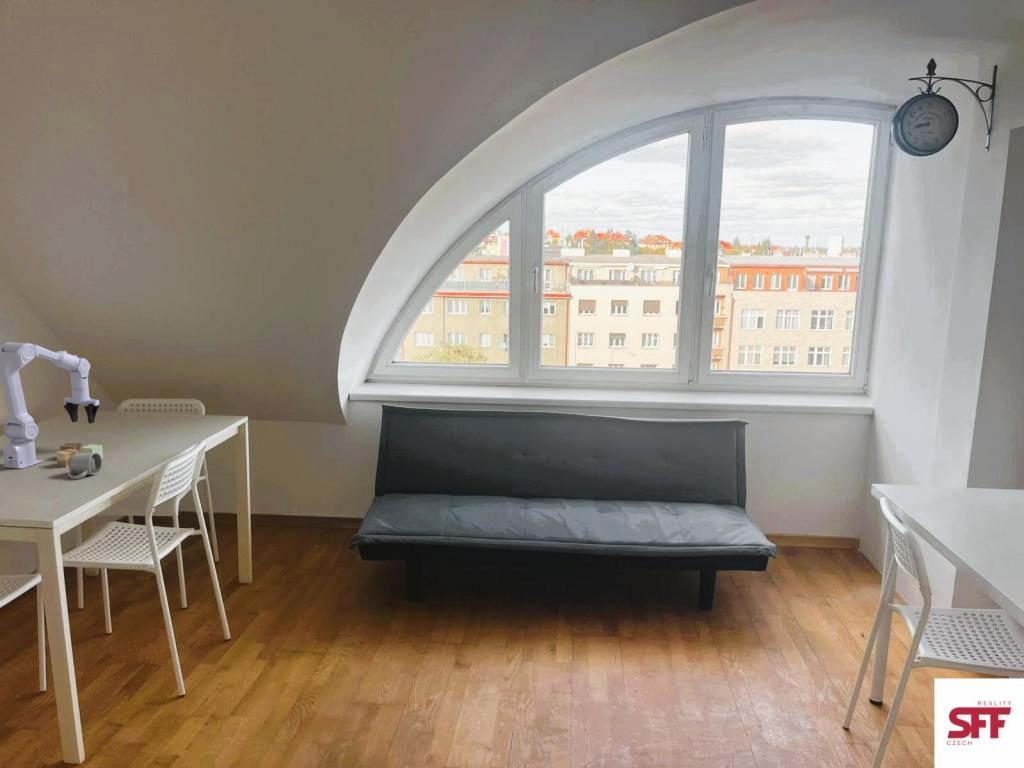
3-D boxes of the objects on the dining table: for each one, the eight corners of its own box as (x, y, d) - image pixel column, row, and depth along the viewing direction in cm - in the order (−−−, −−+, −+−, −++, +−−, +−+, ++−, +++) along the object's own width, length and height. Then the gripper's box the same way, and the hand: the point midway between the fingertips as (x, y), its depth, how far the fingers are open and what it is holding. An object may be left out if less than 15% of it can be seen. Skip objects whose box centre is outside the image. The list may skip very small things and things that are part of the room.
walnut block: (74, 459, 277) (73, 446, 276) (61, 459, 277) (60, 446, 277) (82, 455, 282) (81, 443, 281) (69, 455, 282) (68, 442, 281)
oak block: (66, 467, 267) (64, 453, 267) (57, 465, 270) (56, 452, 269) (79, 464, 272) (78, 450, 271) (71, 462, 274) (70, 448, 273)
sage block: (93, 461, 275) (92, 448, 274) (81, 460, 276) (80, 447, 275) (103, 458, 280) (102, 445, 279) (91, 457, 281) (90, 444, 280)
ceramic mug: (80, 470, 264) (78, 449, 262) (103, 470, 264) (101, 450, 262) (62, 480, 253) (59, 458, 252) (86, 480, 253) (83, 458, 252)
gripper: (103, 387, 292) (106, 421, 295) (72, 385, 295) (75, 419, 298) (90, 390, 286) (93, 425, 288) (58, 388, 289) (61, 422, 291)
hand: (83, 422), depth 292 cm, fingers open, 7 cm apart
